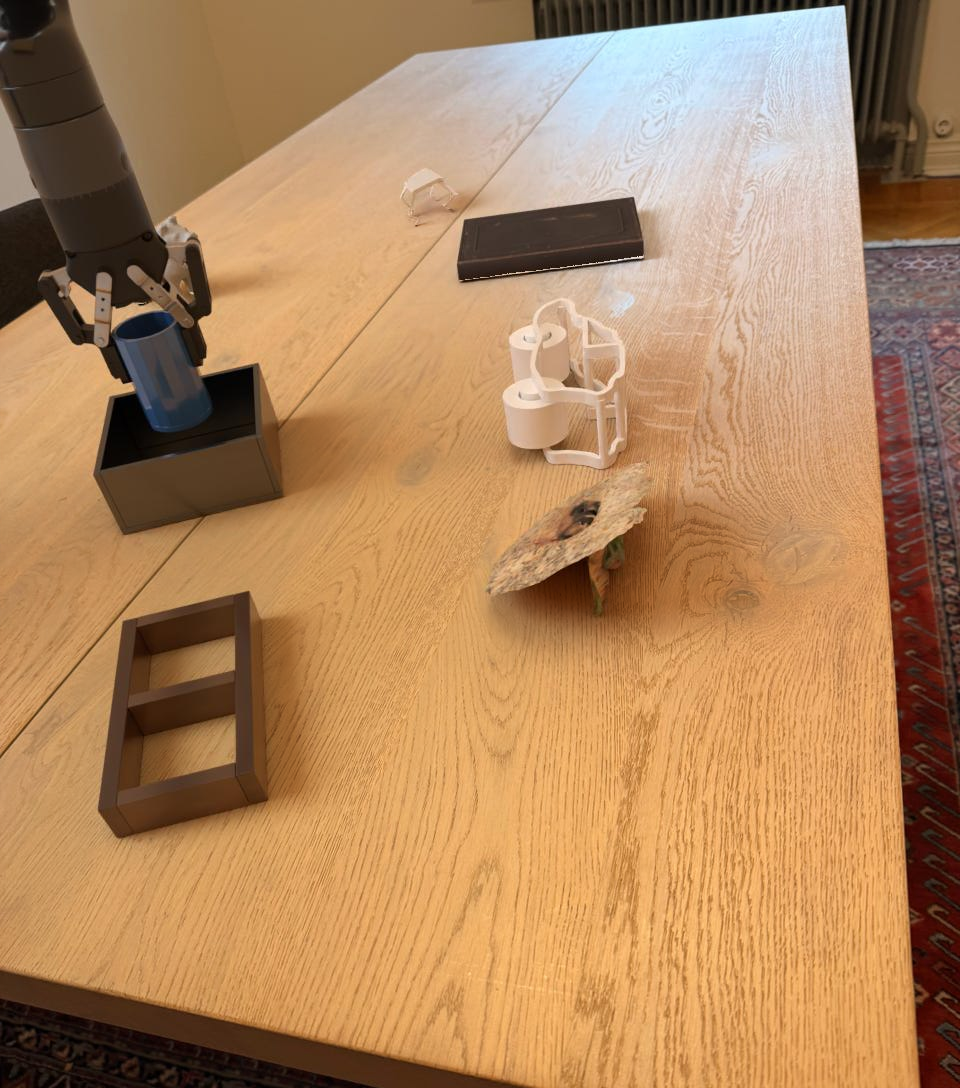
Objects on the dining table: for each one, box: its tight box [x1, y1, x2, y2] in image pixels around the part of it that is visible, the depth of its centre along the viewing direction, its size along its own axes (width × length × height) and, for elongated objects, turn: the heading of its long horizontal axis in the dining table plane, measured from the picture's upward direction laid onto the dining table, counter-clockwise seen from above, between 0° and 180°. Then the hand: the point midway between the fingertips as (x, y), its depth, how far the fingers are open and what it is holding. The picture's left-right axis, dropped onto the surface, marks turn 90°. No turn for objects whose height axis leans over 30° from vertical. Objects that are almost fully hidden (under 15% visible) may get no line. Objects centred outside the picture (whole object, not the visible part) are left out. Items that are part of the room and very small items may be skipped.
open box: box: [92, 362, 284, 536], centre depth 91 cm, size 15×15×7 cm
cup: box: [111, 309, 213, 432], centre depth 85 cm, size 6×6×9 cm
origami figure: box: [399, 166, 459, 223], centre depth 138 cm, size 12×8×5 cm
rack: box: [97, 590, 269, 839], centre depth 67 cm, size 10×19×3 cm, turn 12°
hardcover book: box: [456, 196, 645, 281], centre depth 121 cm, size 16×23×2 cm
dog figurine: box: [155, 214, 199, 295], centre depth 125 cm, size 5×13×11 cm, turn 70°
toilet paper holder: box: [502, 297, 628, 470], centre depth 88 cm, size 20×11×7 cm, turn 176°
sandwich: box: [485, 460, 655, 617], centre depth 71 cm, size 18×14×8 cm
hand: (163, 370), depth 85 cm, fingers closed on cup, 6 cm apart
